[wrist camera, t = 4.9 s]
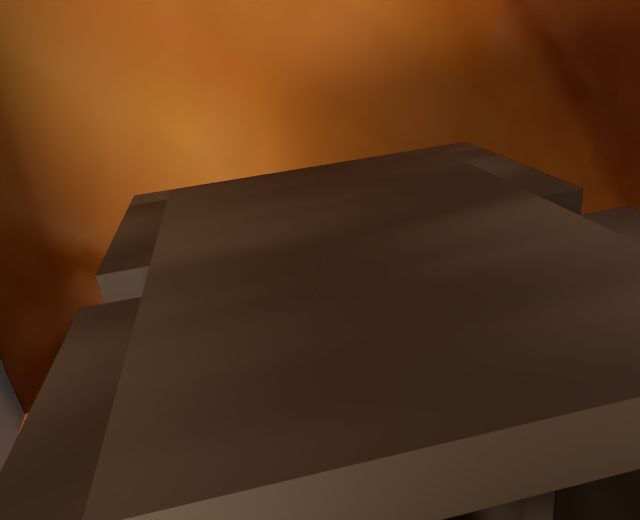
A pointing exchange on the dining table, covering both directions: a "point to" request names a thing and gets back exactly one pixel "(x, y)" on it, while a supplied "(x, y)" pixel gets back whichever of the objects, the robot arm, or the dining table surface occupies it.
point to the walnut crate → (349, 353)
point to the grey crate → (8, 416)
